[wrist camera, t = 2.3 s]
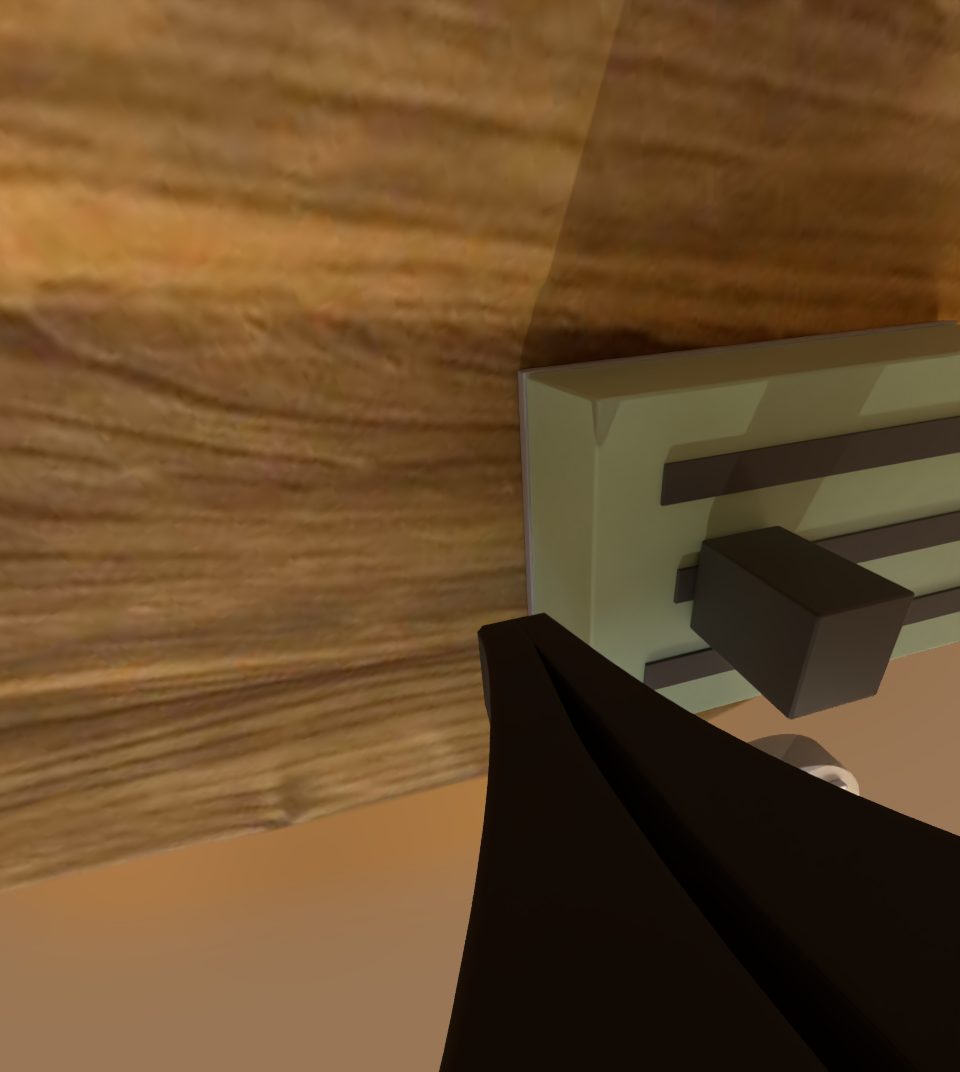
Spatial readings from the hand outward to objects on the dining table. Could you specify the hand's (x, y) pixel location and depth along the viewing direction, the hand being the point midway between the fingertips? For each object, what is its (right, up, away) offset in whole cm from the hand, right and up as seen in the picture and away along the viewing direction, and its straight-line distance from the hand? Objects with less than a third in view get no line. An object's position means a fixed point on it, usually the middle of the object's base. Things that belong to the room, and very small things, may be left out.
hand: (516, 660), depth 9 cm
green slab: (+7, +4, +7) cm, 11 cm away
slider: (+5, +1, +2) cm, 6 cm away
